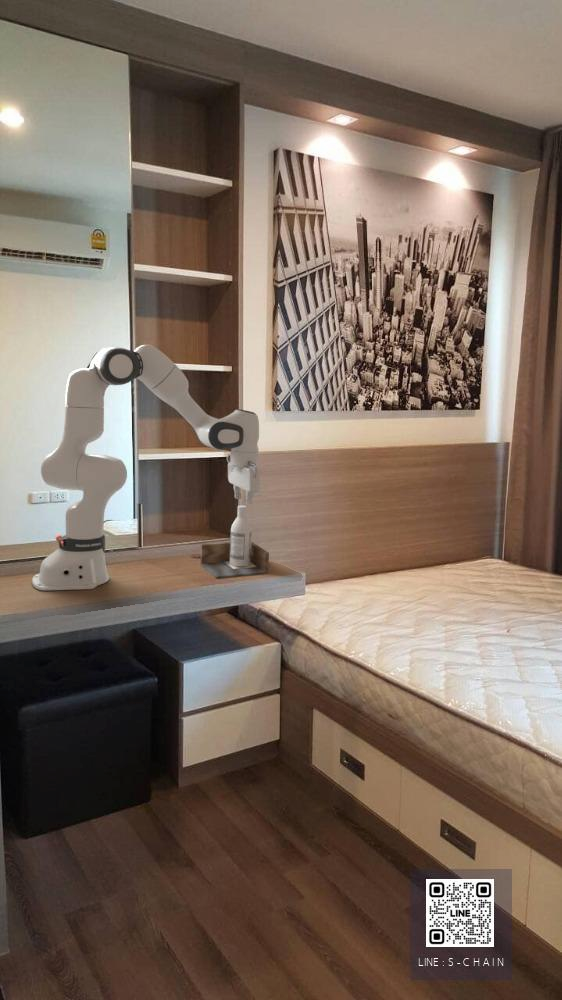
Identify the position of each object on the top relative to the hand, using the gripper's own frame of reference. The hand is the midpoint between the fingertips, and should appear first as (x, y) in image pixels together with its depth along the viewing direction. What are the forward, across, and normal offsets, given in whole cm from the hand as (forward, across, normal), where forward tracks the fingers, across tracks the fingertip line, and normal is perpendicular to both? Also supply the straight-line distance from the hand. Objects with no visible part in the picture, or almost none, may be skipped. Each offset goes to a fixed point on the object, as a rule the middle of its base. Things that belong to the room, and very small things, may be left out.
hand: (242, 501), depth 237 cm
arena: (+22, -2, +3) cm, 23 cm away
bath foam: (+22, +1, 0) cm, 22 cm away
